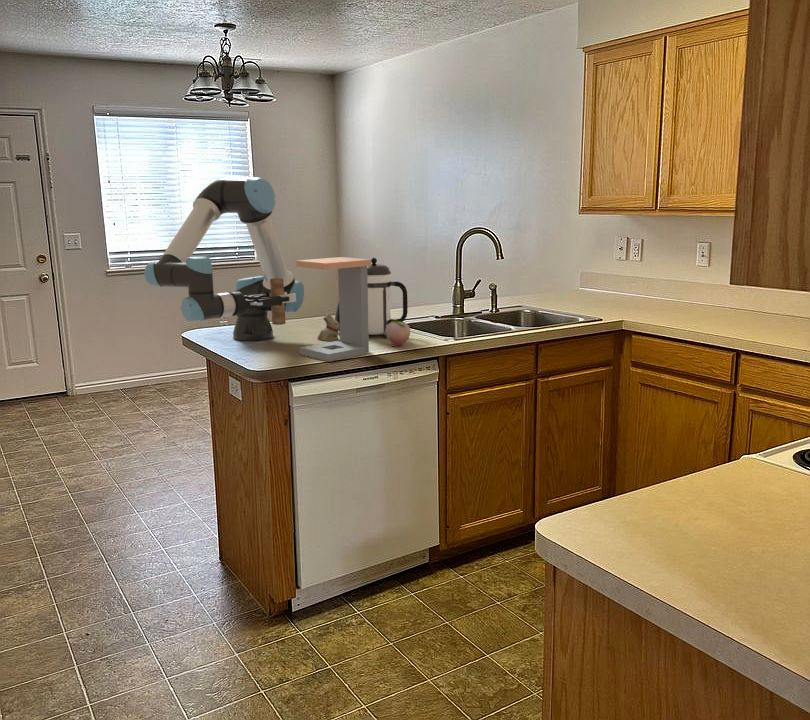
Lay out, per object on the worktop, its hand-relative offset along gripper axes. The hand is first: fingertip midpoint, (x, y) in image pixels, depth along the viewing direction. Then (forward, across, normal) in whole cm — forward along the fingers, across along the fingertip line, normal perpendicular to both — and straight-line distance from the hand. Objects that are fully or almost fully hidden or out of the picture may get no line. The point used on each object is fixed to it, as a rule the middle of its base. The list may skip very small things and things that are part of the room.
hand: (290, 296), depth 252 cm
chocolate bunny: (+25, -12, -20) cm, 34 cm away
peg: (-5, 0, -8) cm, 10 cm away
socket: (+10, +11, -20) cm, 25 cm away
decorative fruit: (+35, +16, -20) cm, 43 cm away
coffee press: (+43, -4, -20) cm, 47 cm away
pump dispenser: (+39, -18, -20) cm, 47 cm away
